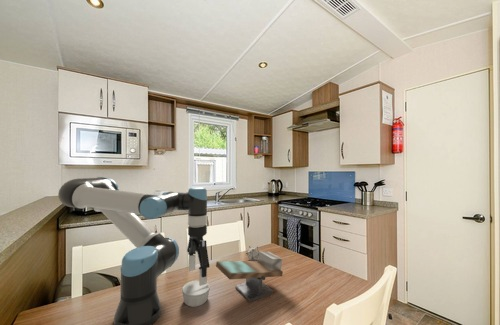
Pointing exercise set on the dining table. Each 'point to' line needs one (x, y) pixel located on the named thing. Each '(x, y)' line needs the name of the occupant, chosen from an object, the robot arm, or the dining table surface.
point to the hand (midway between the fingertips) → (197, 277)
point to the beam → (252, 267)
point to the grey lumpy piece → (253, 253)
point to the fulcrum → (253, 289)
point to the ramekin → (195, 293)
